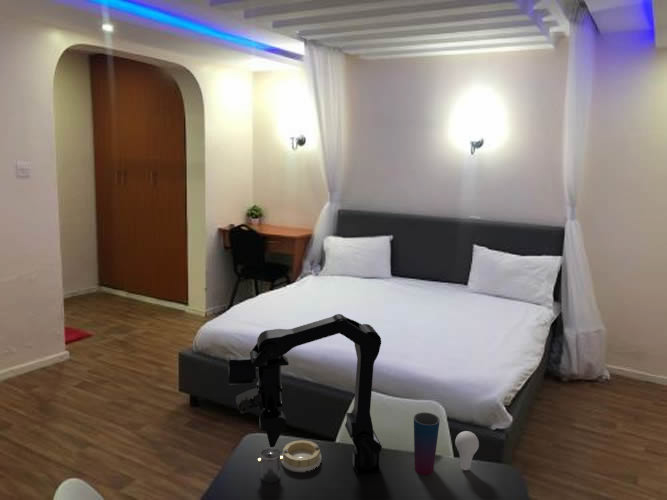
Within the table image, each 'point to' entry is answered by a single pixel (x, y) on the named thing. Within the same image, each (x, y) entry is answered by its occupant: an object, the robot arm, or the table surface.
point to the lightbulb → (466, 448)
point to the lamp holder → (301, 456)
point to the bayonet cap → (270, 464)
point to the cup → (425, 442)
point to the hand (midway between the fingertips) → (270, 437)
